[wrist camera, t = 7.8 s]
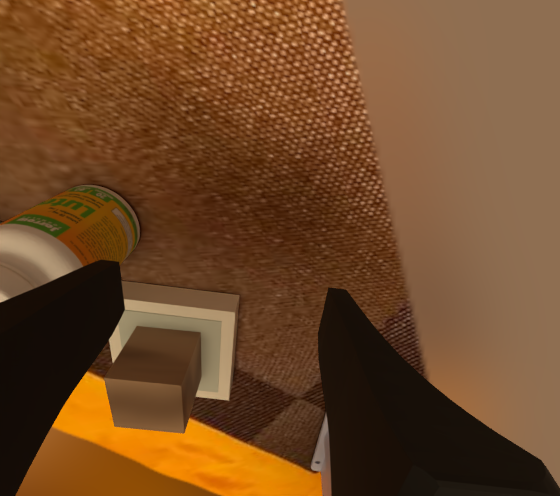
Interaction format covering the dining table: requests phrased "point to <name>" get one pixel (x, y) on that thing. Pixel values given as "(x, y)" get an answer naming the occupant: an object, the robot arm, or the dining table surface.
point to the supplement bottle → (64, 237)
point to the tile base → (186, 327)
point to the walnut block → (155, 379)
